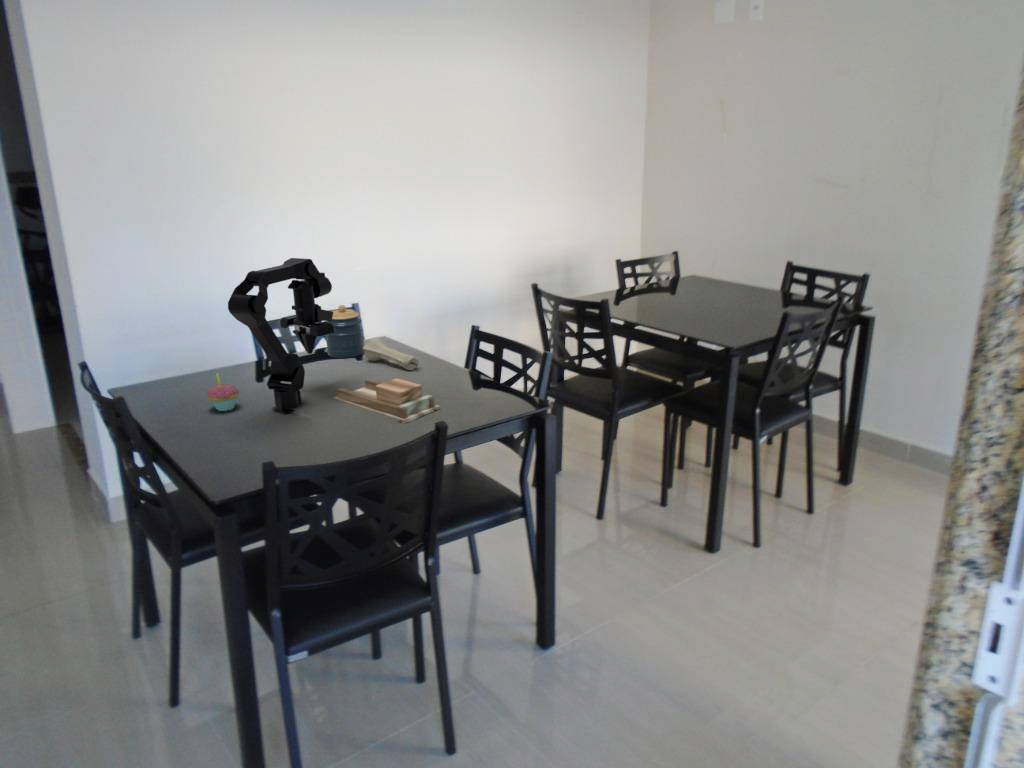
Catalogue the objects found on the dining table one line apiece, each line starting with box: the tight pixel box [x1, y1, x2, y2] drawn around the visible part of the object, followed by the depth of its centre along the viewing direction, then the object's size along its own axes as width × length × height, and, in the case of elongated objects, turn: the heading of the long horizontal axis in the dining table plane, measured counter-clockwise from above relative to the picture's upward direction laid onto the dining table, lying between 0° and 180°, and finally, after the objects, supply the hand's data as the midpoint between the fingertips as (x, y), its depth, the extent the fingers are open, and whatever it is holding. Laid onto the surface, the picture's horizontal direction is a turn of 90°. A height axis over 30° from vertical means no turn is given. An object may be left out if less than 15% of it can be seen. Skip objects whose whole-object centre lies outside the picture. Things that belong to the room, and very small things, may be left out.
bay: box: [333, 378, 441, 425], centre depth 214 cm, size 14×30×4 cm, turn 51°
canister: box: [324, 304, 365, 359], centre depth 262 cm, size 13×13×18 cm
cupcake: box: [207, 372, 240, 412], centre depth 211 cm, size 9×8×12 cm
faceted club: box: [363, 336, 420, 371], centre depth 250 cm, size 9×8×25 cm
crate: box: [375, 378, 423, 406], centre depth 210 cm, size 8×10×6 cm
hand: (310, 353), depth 220 cm, fingers closed
